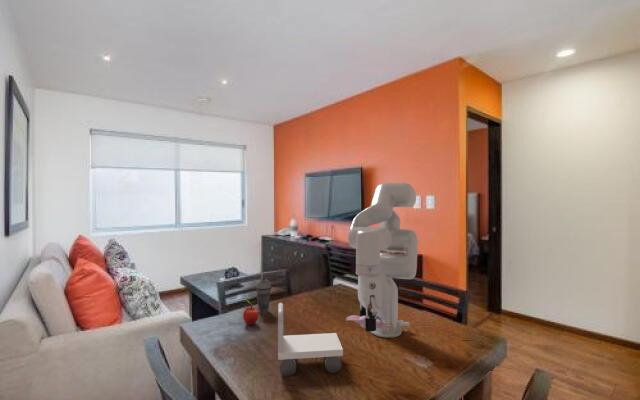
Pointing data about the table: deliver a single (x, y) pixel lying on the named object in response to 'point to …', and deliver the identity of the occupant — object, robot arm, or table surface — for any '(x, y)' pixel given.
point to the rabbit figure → (379, 325)
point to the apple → (250, 315)
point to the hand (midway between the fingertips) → (367, 326)
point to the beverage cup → (263, 294)
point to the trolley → (307, 348)
